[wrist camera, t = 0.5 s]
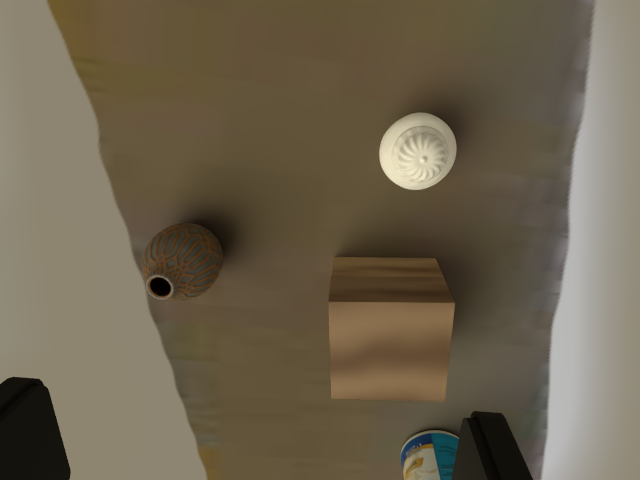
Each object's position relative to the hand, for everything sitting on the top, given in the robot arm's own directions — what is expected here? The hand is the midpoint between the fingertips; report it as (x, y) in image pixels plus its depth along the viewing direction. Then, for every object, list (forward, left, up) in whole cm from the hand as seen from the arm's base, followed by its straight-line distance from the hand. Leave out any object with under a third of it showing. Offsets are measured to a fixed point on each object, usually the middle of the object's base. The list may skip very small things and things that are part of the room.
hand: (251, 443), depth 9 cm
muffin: (-2, +7, -31) cm, 32 cm away
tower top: (+14, +5, -26) cm, 30 cm away
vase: (+8, -14, -31) cm, 35 cm away
